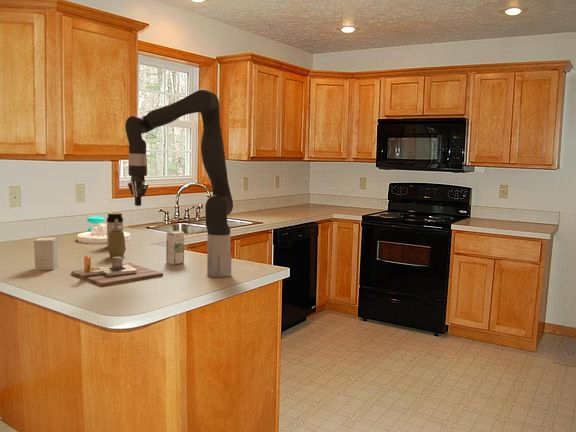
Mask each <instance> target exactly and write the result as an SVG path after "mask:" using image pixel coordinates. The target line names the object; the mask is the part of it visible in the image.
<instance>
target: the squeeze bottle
mask: <svg viewBox="0 0 576 432" xmlns="http://www.w3.org/2000/svg"><path fill="white" fill-rule="evenodd" d="M111 230H112V231H111V232H110V233H109V242H108V246H107V251H108V254H109V257H110V258H112V257H122V258H124V255H125V253H126V249H127V248H126V241H125V238H124V232H125V231H124V230H123V231H121V230H122V227H120V226H119V222H118V219H115V223H114V227H111Z"/></svg>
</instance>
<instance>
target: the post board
mask: <svg viewBox="0 0 576 432" xmlns="http://www.w3.org/2000/svg"><path fill="white" fill-rule="evenodd" d="M126 264H127V265H129V266H131V267H133V268H135V269H136V270H137V273H131V274H122V275H113V276H106V275H104V274H98V275H89V276H84V275H83V271H84V269H79V270H72V271H70V274H71V275H72V276H74V277H77V278H80V279H83V280H84V281H87V282H90V283H93V284H94V285H97V286H100V287H101V288H102V287H108V286H113V285H120V284H126V283H130V282H137V281H138V282H139V281H144V280H147V279H156V278H160V277H163V276H164V273H163V272H160V271H157V270H155V269H152V268H148V267H144V266H141V265H138V264H135V263H131V262H127V263H123V257H111V266H112V271H115V270H122V265H126ZM107 266H108V265H107ZM107 266H104V267H107ZM93 270H98V267H93Z"/></svg>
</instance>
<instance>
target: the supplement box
mask: <svg viewBox="0 0 576 432" xmlns="http://www.w3.org/2000/svg"><path fill="white" fill-rule="evenodd" d="M33 247H34V268H35V270H34V271H48V270H49V271H52V270H53V271H54V270H55V269H56V268H57V267H58V266H59V264H58V237H38V238H36V239H35V240H33Z"/></svg>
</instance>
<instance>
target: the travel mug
mask: <svg viewBox="0 0 576 432" xmlns="http://www.w3.org/2000/svg"><path fill="white" fill-rule="evenodd" d="M115 219H118V222H119V226H120V227H122V230H121V231H123V232H124V218H123V211H109V212H107V218H106V225H107V244H106V245H107V247H108V242H109V233H110V232H111V231H112V230H111V227H114V223H115Z"/></svg>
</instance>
